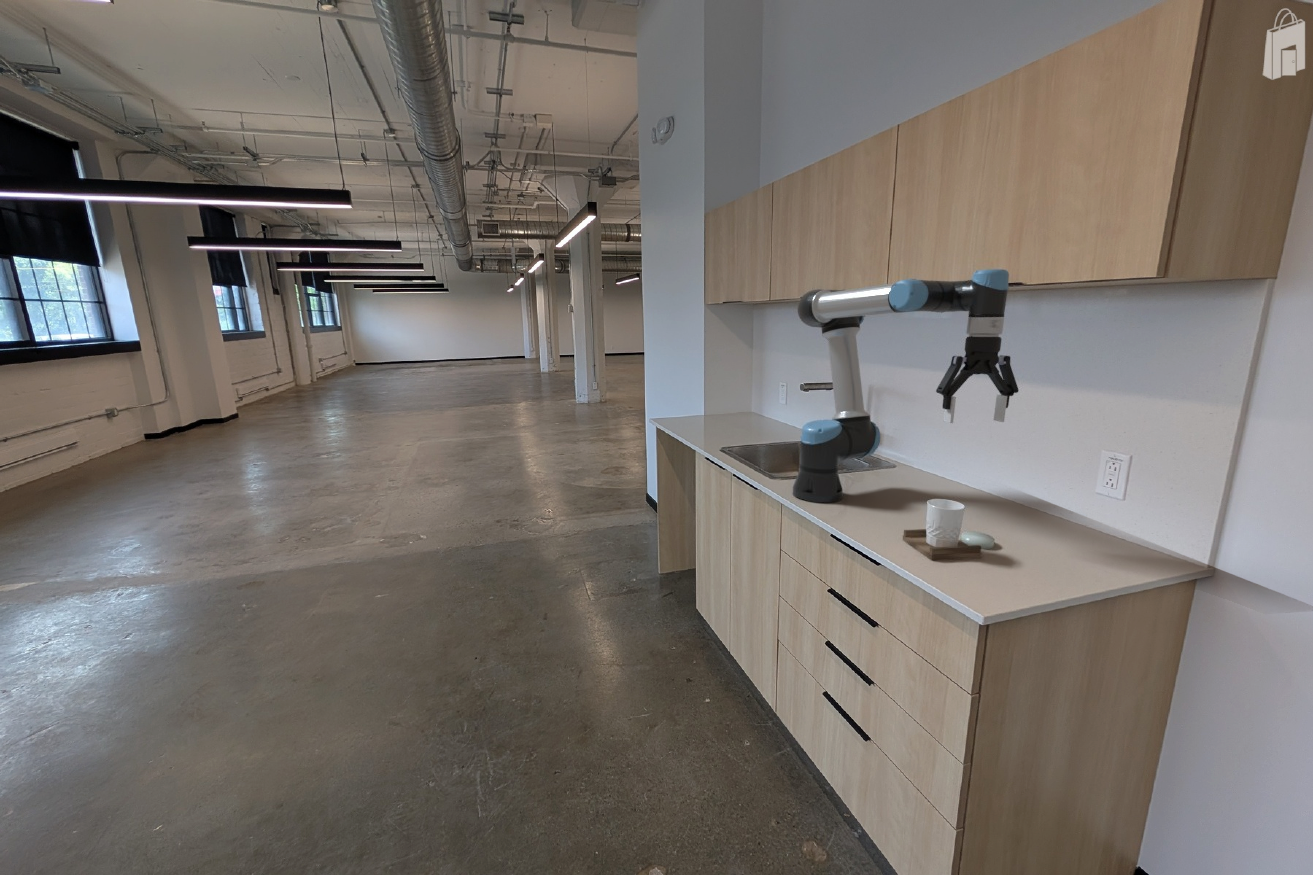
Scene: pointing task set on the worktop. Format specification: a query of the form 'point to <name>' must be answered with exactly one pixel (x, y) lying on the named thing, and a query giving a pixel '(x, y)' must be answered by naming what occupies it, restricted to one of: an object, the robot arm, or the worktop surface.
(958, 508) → the white cup
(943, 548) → the stand
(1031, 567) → the worktop surface
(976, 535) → the pale mint domed disc
